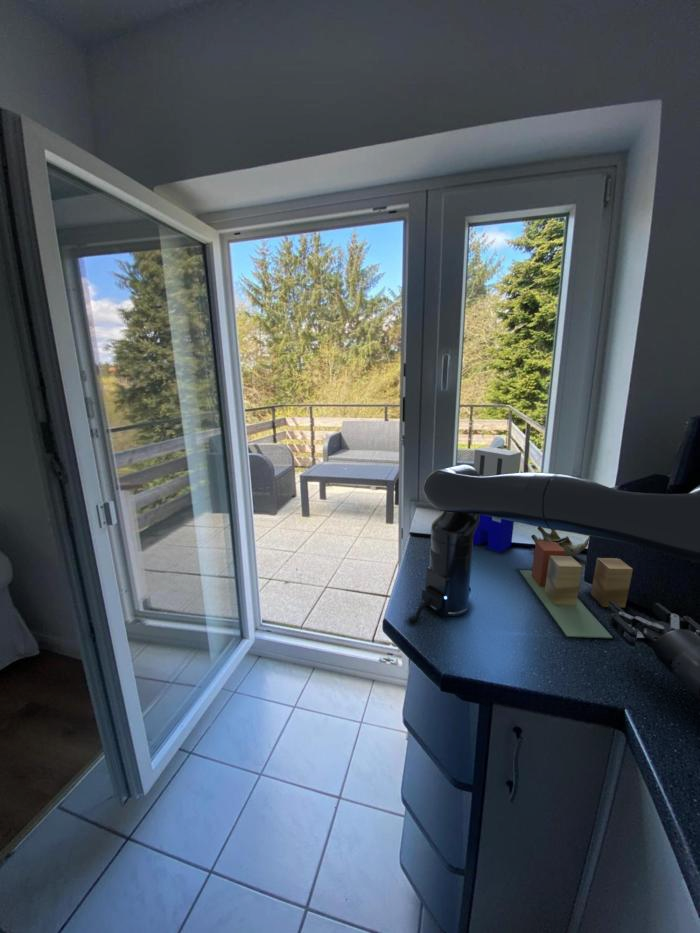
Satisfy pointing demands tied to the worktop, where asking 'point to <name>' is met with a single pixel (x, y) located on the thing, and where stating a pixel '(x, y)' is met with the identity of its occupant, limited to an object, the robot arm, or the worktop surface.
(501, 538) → the toy
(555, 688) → the worktop surface
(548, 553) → the terracotta block
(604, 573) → the maple block
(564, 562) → the maple block
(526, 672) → the worktop surface
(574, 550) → the jawbone
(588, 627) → the mat
